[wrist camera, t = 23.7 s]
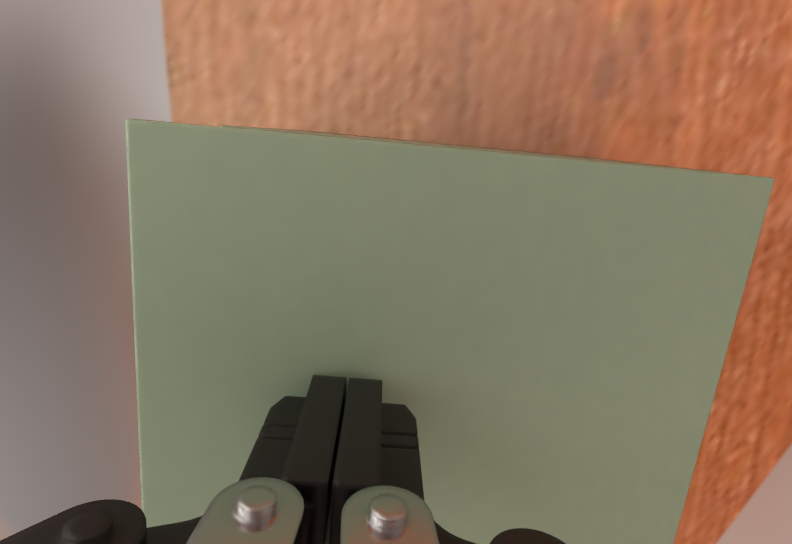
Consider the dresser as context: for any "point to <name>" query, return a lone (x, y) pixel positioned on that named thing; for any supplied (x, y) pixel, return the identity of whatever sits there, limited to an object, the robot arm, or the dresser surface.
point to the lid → (437, 317)
